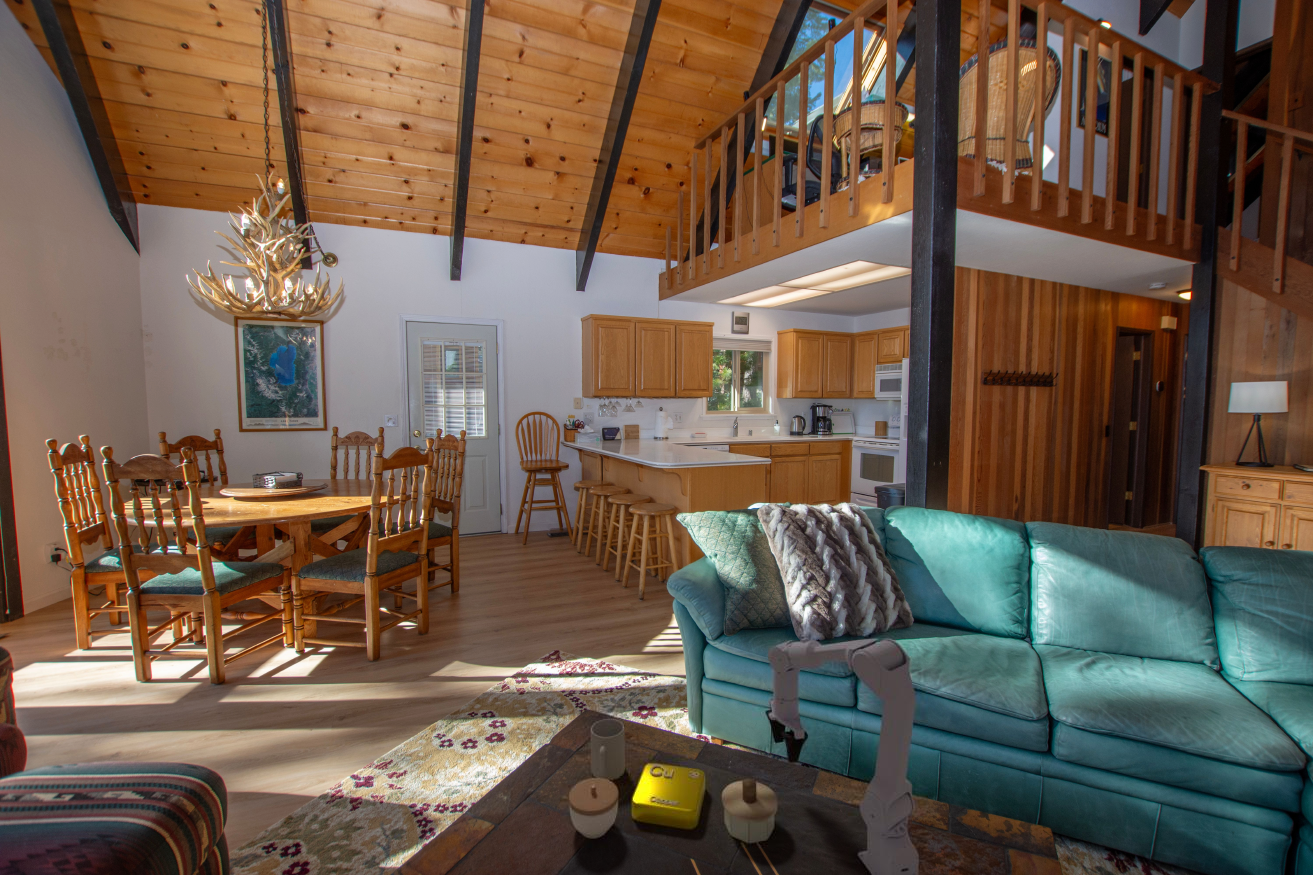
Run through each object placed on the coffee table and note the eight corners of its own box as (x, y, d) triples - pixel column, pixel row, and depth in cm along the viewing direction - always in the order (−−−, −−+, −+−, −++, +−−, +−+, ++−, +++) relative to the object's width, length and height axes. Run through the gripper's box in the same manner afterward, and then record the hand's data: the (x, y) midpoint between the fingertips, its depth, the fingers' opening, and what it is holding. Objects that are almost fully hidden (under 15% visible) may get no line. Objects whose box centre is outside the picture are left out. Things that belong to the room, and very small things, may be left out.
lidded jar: (611, 850, 116) (610, 806, 116) (562, 842, 118) (561, 799, 118) (624, 813, 127) (623, 773, 126) (579, 807, 129) (578, 767, 128)
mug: (595, 758, 146) (594, 717, 146) (627, 760, 145) (627, 719, 145) (584, 789, 135) (583, 745, 134) (619, 792, 134) (618, 747, 133)
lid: (787, 816, 118) (787, 797, 118) (733, 826, 115) (733, 806, 115) (764, 779, 130) (763, 761, 129) (714, 788, 127) (714, 770, 127)
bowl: (780, 837, 119) (780, 814, 119) (735, 845, 117) (735, 822, 116) (761, 804, 129) (761, 783, 128) (719, 812, 126) (719, 790, 126)
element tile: (629, 821, 125) (629, 800, 124) (646, 777, 139) (646, 758, 139) (696, 832, 121) (696, 811, 121) (706, 786, 136) (706, 767, 135)
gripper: (757, 681, 137) (757, 735, 138) (783, 713, 123) (783, 773, 124) (784, 678, 139) (784, 731, 139) (813, 709, 124) (813, 768, 125)
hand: (785, 751), depth 132 cm, fingers open, 7 cm apart
